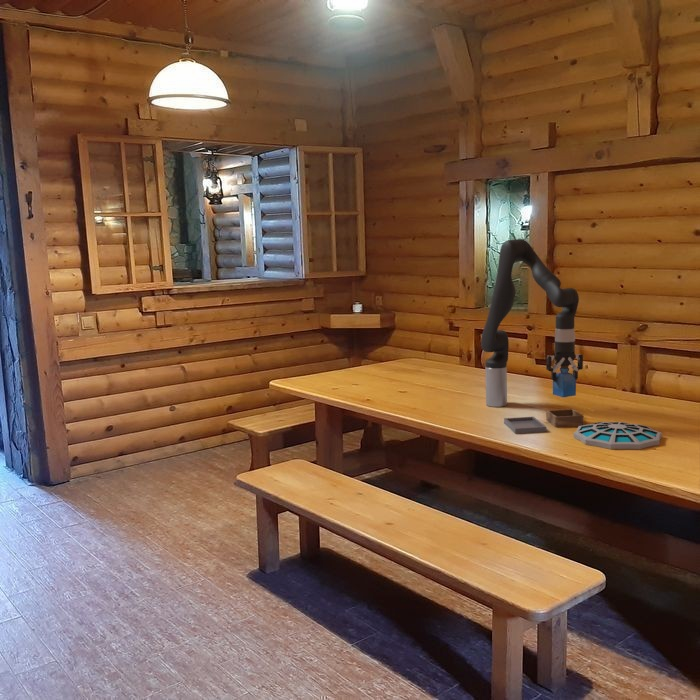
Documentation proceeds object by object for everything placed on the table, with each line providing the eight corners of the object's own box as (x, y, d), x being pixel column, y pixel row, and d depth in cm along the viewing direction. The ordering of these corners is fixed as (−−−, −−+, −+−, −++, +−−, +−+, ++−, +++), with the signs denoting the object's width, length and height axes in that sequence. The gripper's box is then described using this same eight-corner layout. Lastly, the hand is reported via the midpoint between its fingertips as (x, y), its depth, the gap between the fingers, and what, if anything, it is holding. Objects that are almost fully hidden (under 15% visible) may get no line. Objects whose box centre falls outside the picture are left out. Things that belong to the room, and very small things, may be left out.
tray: (504, 423, 292) (504, 418, 292) (533, 421, 293) (533, 416, 292) (515, 433, 276) (515, 428, 276) (546, 431, 277) (546, 426, 277)
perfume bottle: (552, 394, 289) (553, 364, 286) (565, 392, 291) (565, 362, 289) (563, 397, 283) (563, 367, 281) (575, 395, 285) (576, 365, 283)
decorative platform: (558, 440, 266) (558, 427, 265) (596, 423, 286) (596, 411, 286) (641, 456, 244) (641, 441, 244) (676, 436, 265) (676, 423, 264)
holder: (546, 420, 294) (546, 410, 293) (573, 418, 294) (573, 408, 294) (555, 427, 283) (555, 417, 282) (583, 425, 283) (583, 415, 283)
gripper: (579, 337, 287) (578, 378, 290) (543, 339, 286) (543, 379, 289) (586, 340, 280) (585, 382, 283) (549, 342, 279) (549, 383, 282)
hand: (564, 380), depth 286 cm, fingers closed on perfume bottle, 7 cm apart
